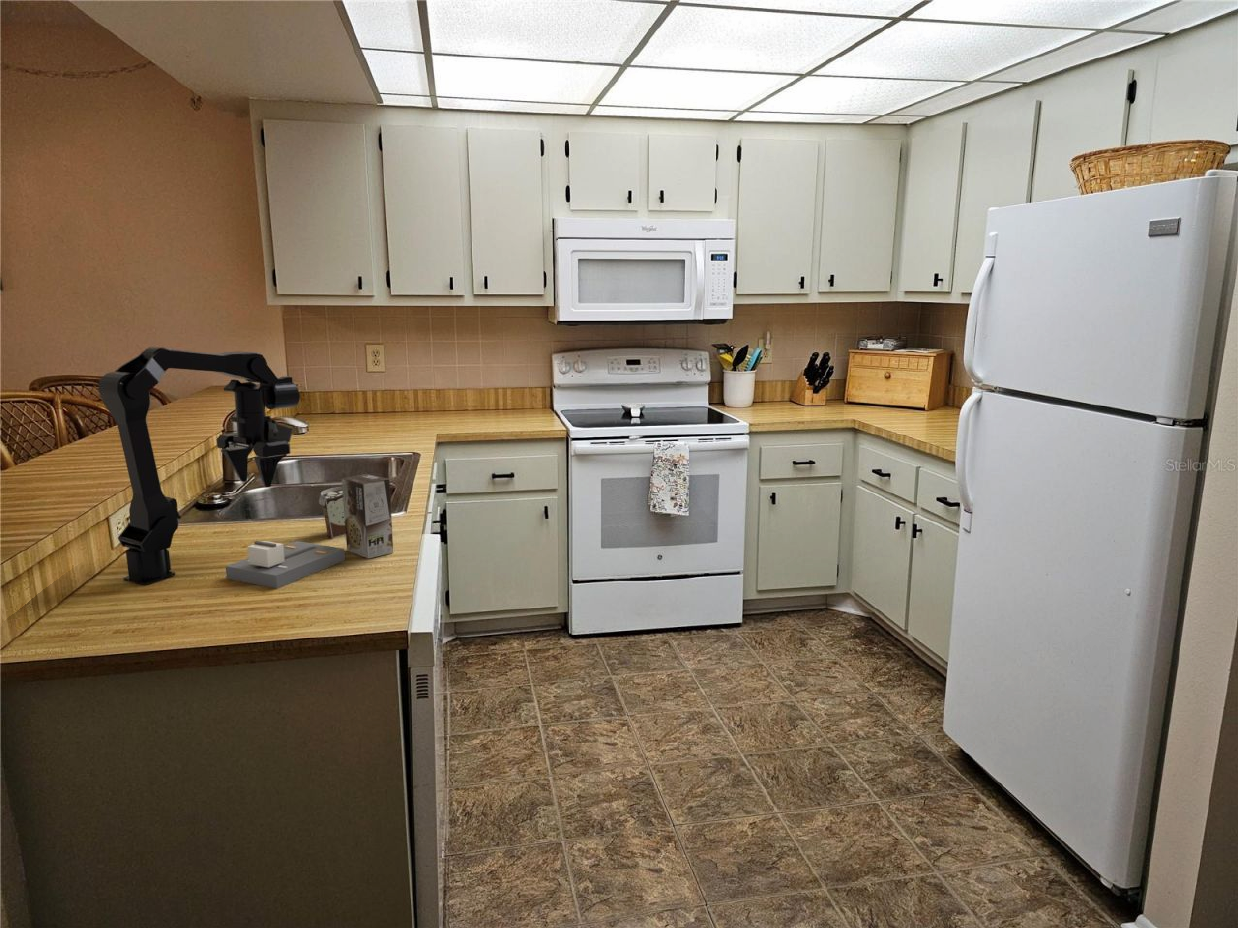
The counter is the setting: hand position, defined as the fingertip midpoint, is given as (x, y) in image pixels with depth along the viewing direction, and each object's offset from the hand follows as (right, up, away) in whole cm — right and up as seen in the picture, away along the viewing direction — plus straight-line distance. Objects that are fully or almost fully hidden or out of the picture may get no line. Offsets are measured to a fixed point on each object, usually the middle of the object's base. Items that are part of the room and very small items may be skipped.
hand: (255, 484), depth 173 cm
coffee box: (+25, -15, 0) cm, 29 cm away
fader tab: (+10, -15, -17) cm, 24 cm away
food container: (+13, -12, +14) cm, 23 cm away
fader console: (+12, -17, -12) cm, 23 cm away
